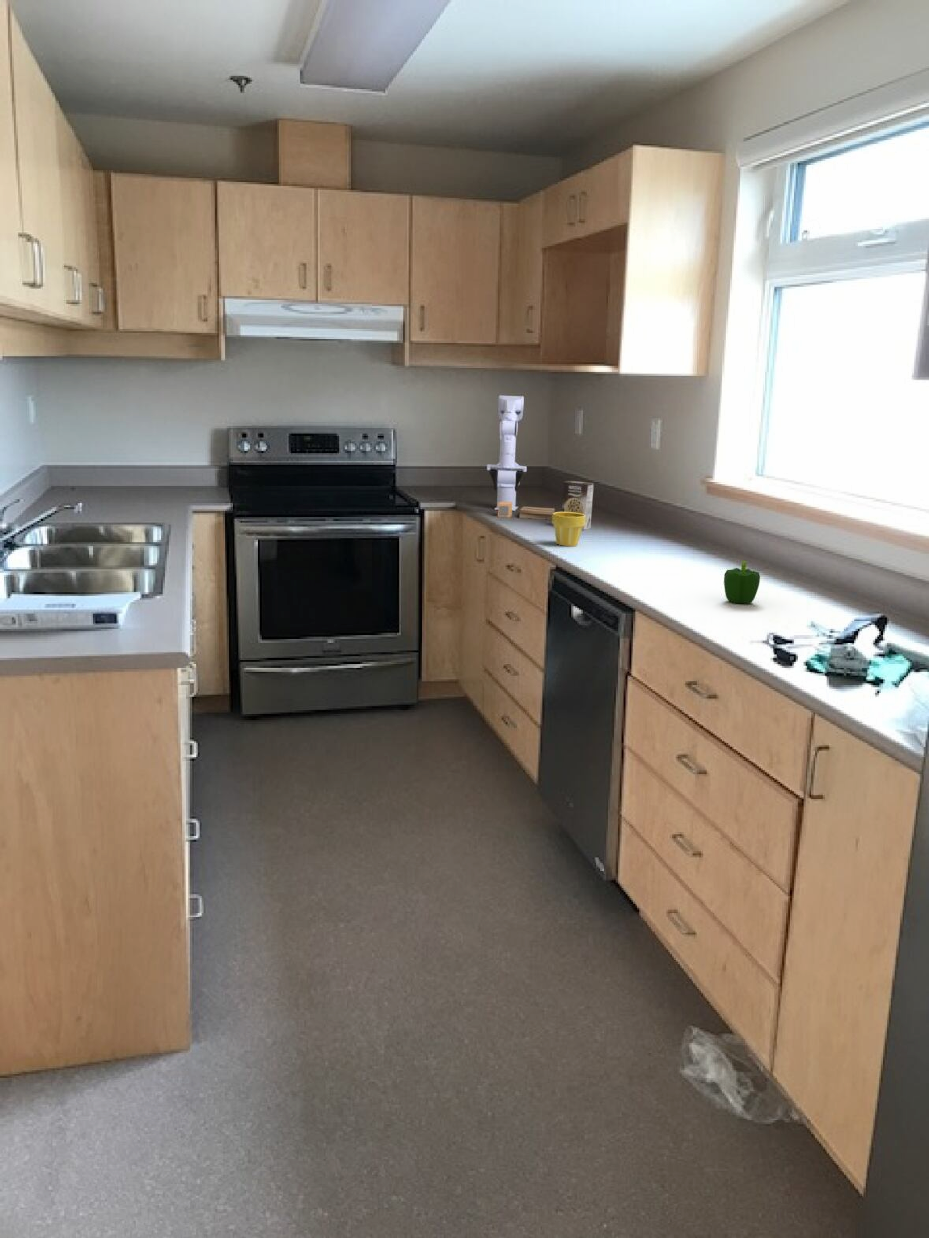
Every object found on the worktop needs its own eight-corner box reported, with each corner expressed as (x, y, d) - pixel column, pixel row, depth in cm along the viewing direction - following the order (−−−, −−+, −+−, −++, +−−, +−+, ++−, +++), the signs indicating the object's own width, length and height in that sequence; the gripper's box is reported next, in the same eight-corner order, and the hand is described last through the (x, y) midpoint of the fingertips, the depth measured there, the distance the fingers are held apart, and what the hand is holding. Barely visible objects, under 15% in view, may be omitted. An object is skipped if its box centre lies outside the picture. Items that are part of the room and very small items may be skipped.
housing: (500, 514, 377) (500, 501, 376) (511, 515, 377) (512, 502, 375) (497, 516, 372) (498, 503, 370) (509, 517, 371) (510, 504, 370)
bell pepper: (747, 607, 239) (752, 566, 237) (716, 601, 245) (720, 561, 242) (763, 602, 245) (767, 562, 243) (732, 596, 251) (736, 557, 248)
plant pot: (587, 547, 313) (589, 516, 311) (555, 547, 311) (557, 516, 309) (578, 541, 323) (580, 511, 320) (547, 541, 321) (549, 511, 319)
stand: (522, 514, 379) (523, 506, 378) (554, 516, 377) (554, 508, 376) (519, 518, 369) (519, 510, 369) (551, 520, 367) (552, 511, 367)
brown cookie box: (560, 527, 351) (562, 481, 347) (567, 525, 356) (569, 480, 352) (584, 530, 347) (587, 483, 343) (591, 528, 352) (594, 482, 348)
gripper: (486, 453, 366) (484, 490, 369) (525, 455, 364) (523, 492, 367) (489, 452, 373) (487, 488, 376) (528, 453, 370) (526, 490, 374)
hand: (505, 490), depth 372 cm, fingers open, 7 cm apart
